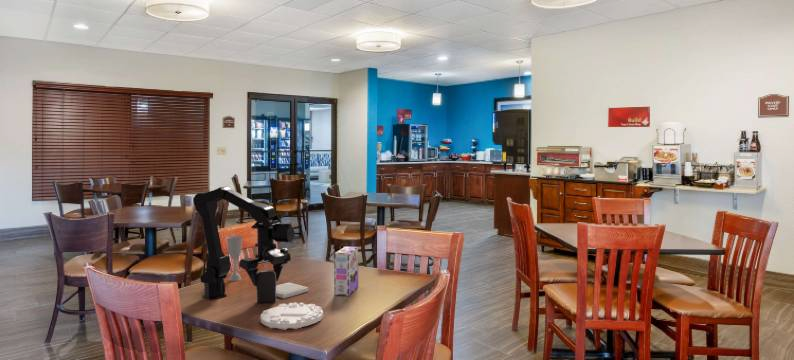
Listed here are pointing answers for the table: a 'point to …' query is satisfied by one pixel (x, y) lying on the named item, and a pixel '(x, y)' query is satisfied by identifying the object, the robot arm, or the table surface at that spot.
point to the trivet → (290, 290)
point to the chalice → (234, 253)
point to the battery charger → (266, 286)
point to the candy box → (345, 271)
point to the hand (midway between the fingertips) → (266, 283)
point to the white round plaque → (291, 316)
